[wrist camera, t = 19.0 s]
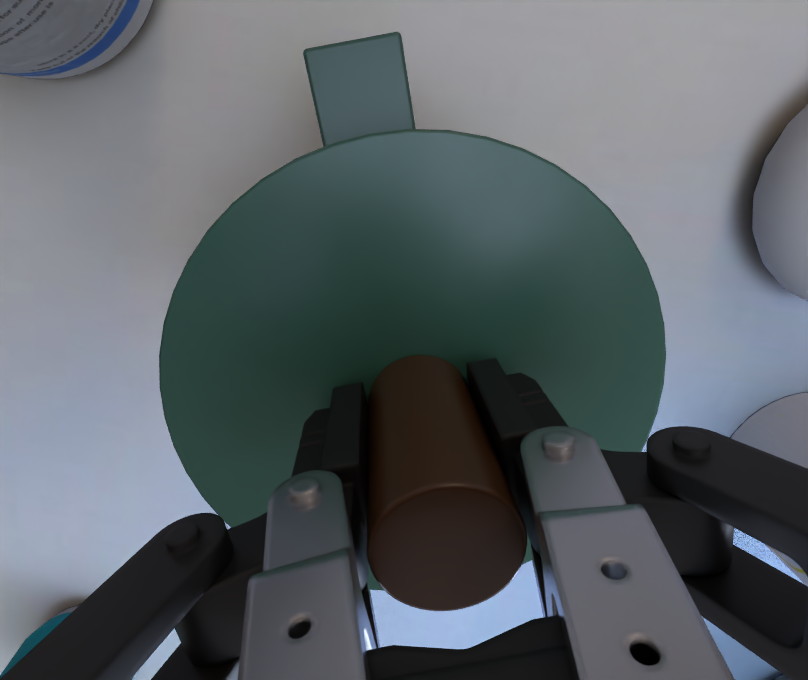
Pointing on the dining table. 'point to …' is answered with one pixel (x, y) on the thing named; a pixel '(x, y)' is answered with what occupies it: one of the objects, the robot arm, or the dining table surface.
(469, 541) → the pot lid
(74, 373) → the dining table surface
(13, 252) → the dining table surface
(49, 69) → the supplement tub
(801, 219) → the donut
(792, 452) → the cup
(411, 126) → the pot
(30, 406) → the dining table surface
